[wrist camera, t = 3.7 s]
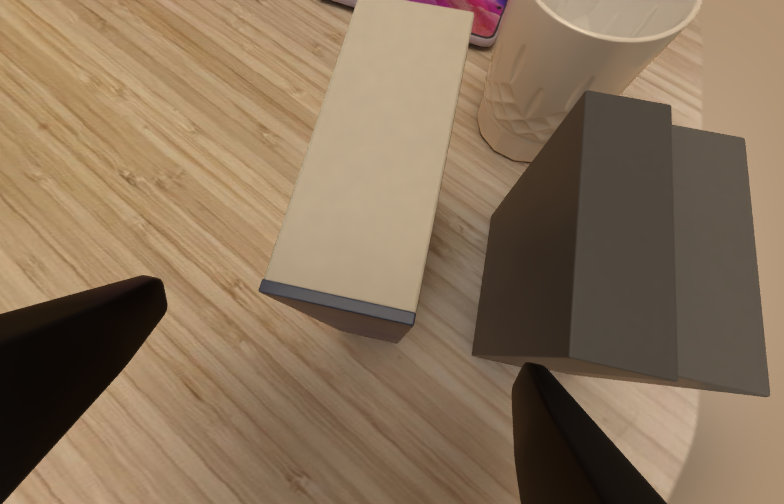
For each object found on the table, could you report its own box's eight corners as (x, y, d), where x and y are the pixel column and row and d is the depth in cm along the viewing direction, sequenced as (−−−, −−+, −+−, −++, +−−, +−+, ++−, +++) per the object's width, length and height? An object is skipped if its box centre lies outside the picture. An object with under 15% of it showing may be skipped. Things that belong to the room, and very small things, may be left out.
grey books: (573, 378, 19) (798, 409, 9) (471, 355, 20) (568, 358, 9) (582, 233, 22) (763, 121, 11) (491, 215, 22) (585, 88, 12)
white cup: (466, 165, 23) (521, 31, 14) (470, 73, 25) (520, -97, 16) (581, 176, 23) (720, 49, 13) (575, 83, 25) (690, -83, 16)
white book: (397, 343, 20) (413, 326, 7) (339, 330, 20) (257, 291, 7) (426, 202, 22) (475, 11, 10) (375, 191, 22) (359, -10, 10)
